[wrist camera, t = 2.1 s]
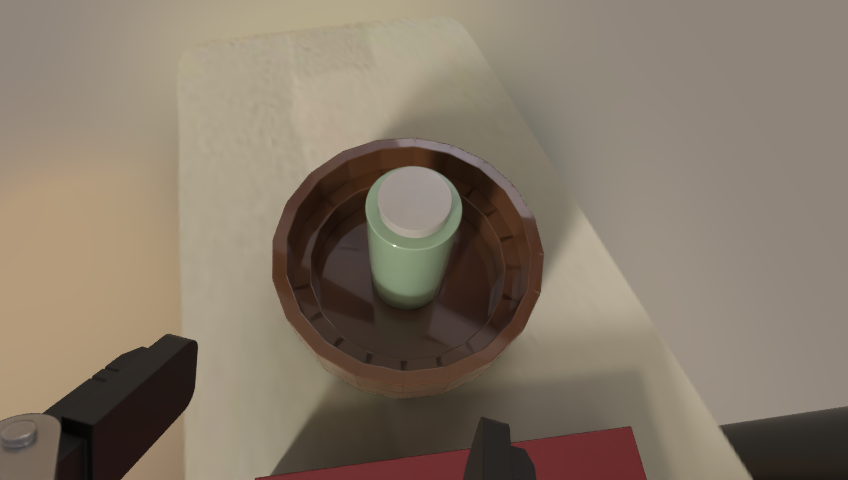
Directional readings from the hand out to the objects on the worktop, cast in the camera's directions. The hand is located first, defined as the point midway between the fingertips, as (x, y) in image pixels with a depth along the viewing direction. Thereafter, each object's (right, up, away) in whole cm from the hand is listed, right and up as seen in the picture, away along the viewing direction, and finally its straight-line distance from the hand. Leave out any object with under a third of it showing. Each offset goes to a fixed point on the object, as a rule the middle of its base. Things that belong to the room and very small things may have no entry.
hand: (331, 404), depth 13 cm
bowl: (+1, +2, +19) cm, 19 cm away
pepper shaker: (+1, +2, +19) cm, 19 cm away
